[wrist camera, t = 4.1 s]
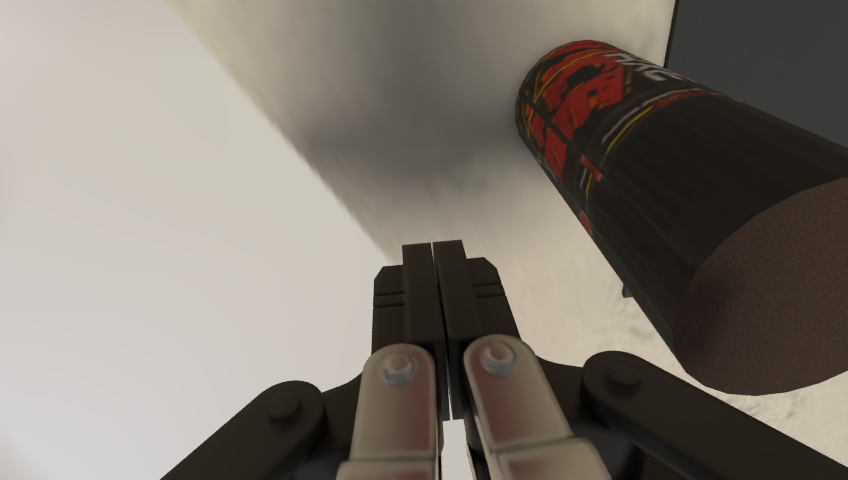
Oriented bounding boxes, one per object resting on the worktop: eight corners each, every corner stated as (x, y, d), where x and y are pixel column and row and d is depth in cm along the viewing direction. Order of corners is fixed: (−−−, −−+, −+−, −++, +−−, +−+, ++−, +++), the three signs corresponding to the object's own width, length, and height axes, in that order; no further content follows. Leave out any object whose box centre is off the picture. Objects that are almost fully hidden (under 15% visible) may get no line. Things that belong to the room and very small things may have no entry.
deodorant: (638, 25, 21) (1009, 140, 9) (637, 148, 25) (910, 367, 12) (507, 57, 22) (679, 214, 9) (522, 175, 25) (666, 416, 12)
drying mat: (695, -104, 19) (699, -105, 19) (1061, -134, 19) (1070, -135, 19) (621, 294, 30) (623, 297, 29) (860, 271, 30) (865, 274, 30)
